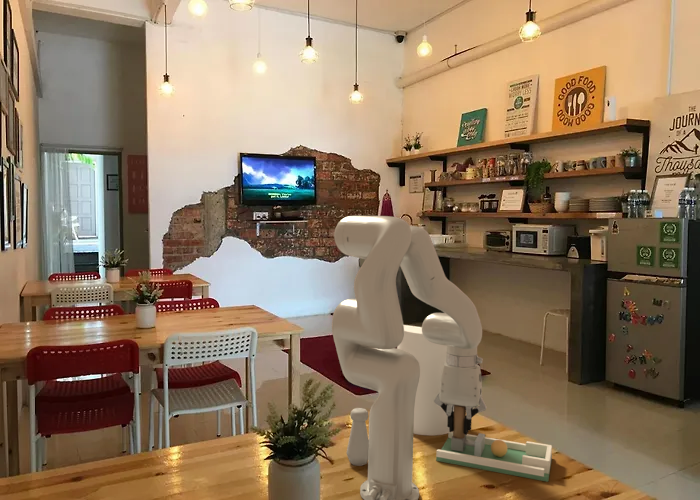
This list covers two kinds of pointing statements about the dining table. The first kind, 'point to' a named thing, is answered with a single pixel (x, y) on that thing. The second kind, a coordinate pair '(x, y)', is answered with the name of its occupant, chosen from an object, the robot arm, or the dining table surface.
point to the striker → (460, 438)
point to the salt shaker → (358, 438)
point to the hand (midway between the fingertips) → (459, 430)
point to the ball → (499, 448)
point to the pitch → (502, 458)
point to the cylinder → (426, 381)
